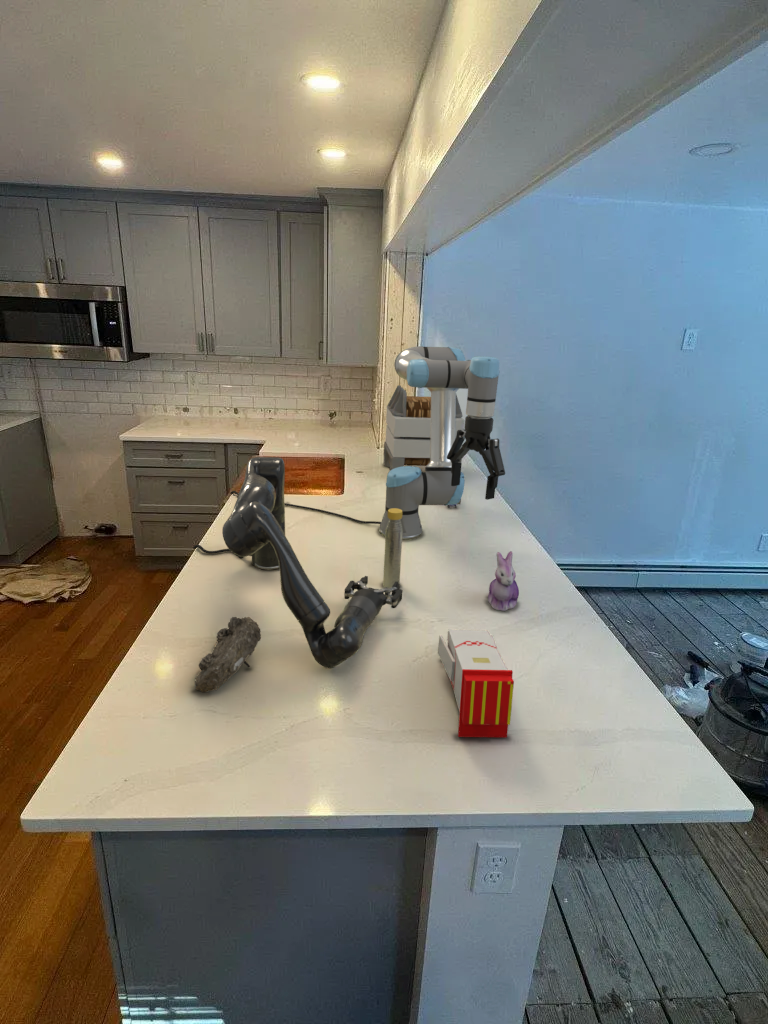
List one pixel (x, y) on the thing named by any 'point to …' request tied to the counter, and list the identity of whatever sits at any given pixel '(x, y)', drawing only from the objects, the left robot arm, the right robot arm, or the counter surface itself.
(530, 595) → the counter surface
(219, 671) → the fossil
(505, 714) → the toy
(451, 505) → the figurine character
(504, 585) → the figurine
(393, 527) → the bottle
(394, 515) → the cap
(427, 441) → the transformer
